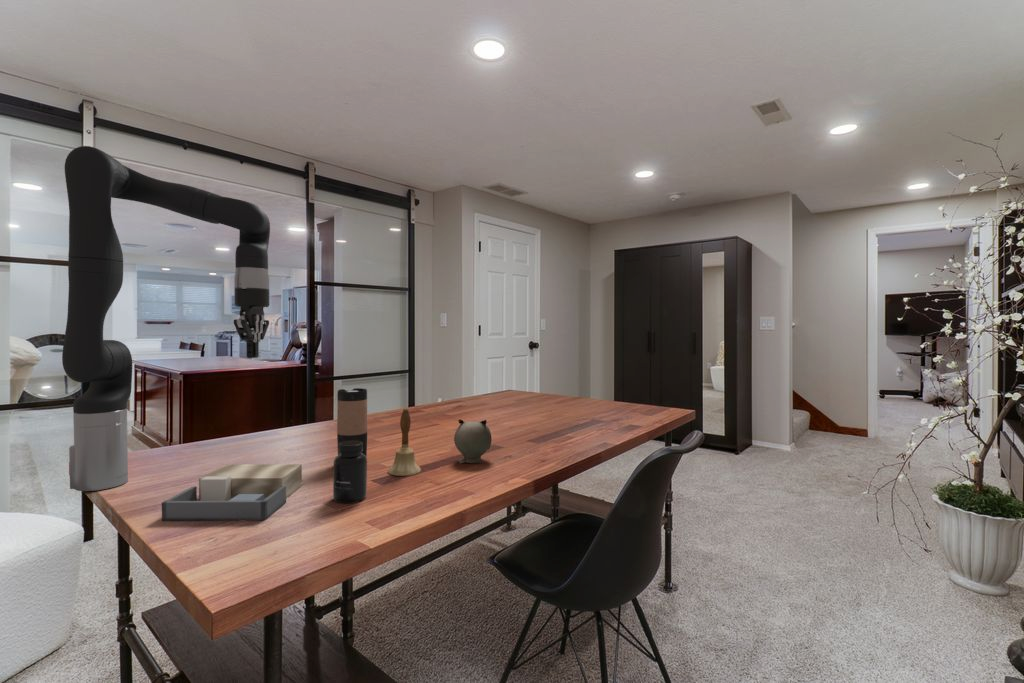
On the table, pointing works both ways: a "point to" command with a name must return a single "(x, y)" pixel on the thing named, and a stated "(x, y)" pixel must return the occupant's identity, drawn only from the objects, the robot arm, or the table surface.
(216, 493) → the beige block
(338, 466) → the supplement bottle
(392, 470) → the hand bell
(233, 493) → the bench
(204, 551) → the table surface
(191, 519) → the tray
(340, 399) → the travel mug
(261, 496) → the slate tile
